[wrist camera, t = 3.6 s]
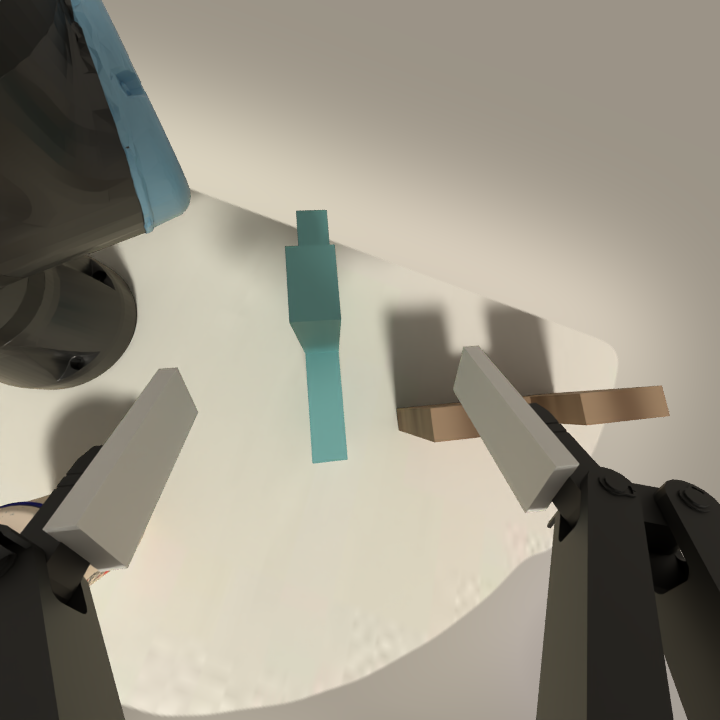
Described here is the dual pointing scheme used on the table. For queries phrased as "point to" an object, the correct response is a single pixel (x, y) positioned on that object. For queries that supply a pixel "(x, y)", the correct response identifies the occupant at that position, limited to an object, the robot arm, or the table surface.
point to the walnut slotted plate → (565, 407)
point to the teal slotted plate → (318, 330)
